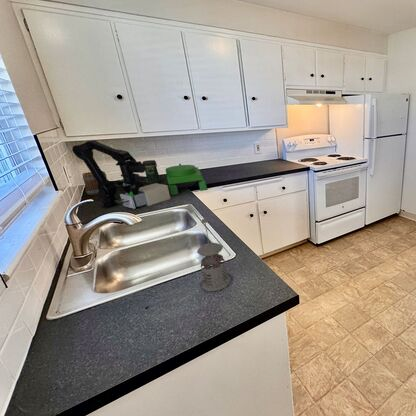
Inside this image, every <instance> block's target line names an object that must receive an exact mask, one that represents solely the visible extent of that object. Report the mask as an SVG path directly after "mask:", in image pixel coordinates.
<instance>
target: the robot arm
mask: <svg viewBox="0 0 416 416" xmlns="http://www.w3.org/2000/svg"><path fill="white" fill-rule="evenodd" d="M93 150H95V151H97V152H100V153H103V154H105V155H108V156H110V157H111V159H113V160H114V161H116V163H115V166H117V167H118V166H119V169H120V172H121V174H120V177H122V179H118V180H117V182H116V183H117V185H116V184H115V181H114V180H109V179H107V178H106V177H107V176H106V177H105V175H104V174H103V172H104V171H103V170H102V169H101V167H100V166H99V165H98V163H97V161H96V160H95V158H94V151H93ZM71 151H72V152H73V154H74V155H75V156H76V157H77V158H78V159H80V160H82V161H83V162H84V164H85V166H86V167H87V168H88V170H89V172H90V173H92V174H93V176H94V178H95V179H96V181H97V182H98V189H99V192H98V194H97V195H96V197H97V199H100V200H101V203H102V205H101V206H102V207H104V208H107V209H108V208H111V207H114V206H118V205H119V203H116V202H115V200H118V199H117V197H116V195H117V190H118V188H117V186H120V187H121V188H122V189H123V190H124V191H125V193H128V194H129V193H130V192H132V193H133V195H137V194H138V191H139V188H140V187H144V186H146V185H145V183H144V182H146V176H143V175H140V174H143V173H144V174H145V166H144V164H142V161H140V160H138V161H137V159H136V158H134V157H133V156H132V155H131V153H130V151H128V150H124V149H118V148H113V147H111V146H108V145H107V144H105V143H101V142H99V141H97V140H95V139H94V140H88V141H86V142H84V143H80V144H75V145H73V146H72V149H71ZM102 171H103V172H102Z"/></svg>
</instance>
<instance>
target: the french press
mask: <svg viewBox="0 0 416 416" xmlns="http://www.w3.org/2000/svg"><path fill="white" fill-rule="evenodd" d="M208 222H209V220H208V219H207V218H202V219H201V223H202V224H204V227H205V232H206V237H207V243H205V244H203V245H202V246H200V247H199V248H198V249H197V251H196V252H197V254H198V255H199V256H202V257H203V258H202V259H201V260H200V269H201V274H202V278H203V279H202V280H203V282H202V283H201V288H202V289H203V290H204V291H207V292H216V291H220V290H223V289H224V288H226V287H227V286H228V285H230V283H231V281H232V279H231V276H229V275H228V272H227V265H226V261H225V258H224V256H223V255H222V254H219V253H221V251H223V248H224V246H223V245H222V244H221V243H218V242H210V238H209V233H208V228H207V223H208ZM211 266H212V267H211ZM226 280H227V281H226Z"/></svg>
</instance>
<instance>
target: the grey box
mask: <svg viewBox="0 0 416 416" xmlns="http://www.w3.org/2000/svg"><path fill="white" fill-rule="evenodd" d="M139 191H140V192H145V195H146V199H147V203H148V204H145V205H144V206H147V207H149V206H153V205H157V204H160V203H162V202H165V201H169V200H171V193H170V189H169V185H166V184H162V183H155V184H147V185H145V186H144V187H140V188H139Z"/></svg>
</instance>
